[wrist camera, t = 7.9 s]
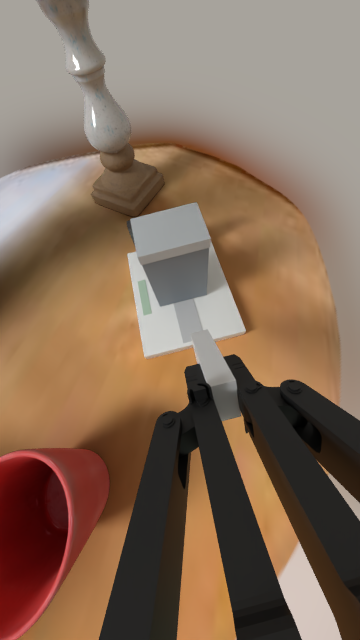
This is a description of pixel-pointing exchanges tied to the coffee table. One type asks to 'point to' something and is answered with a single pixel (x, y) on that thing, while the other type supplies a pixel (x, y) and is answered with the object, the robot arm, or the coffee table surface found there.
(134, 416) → the coffee table surface
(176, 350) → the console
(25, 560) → the flower pot
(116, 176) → the candle holder
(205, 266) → the grey rectangular block
